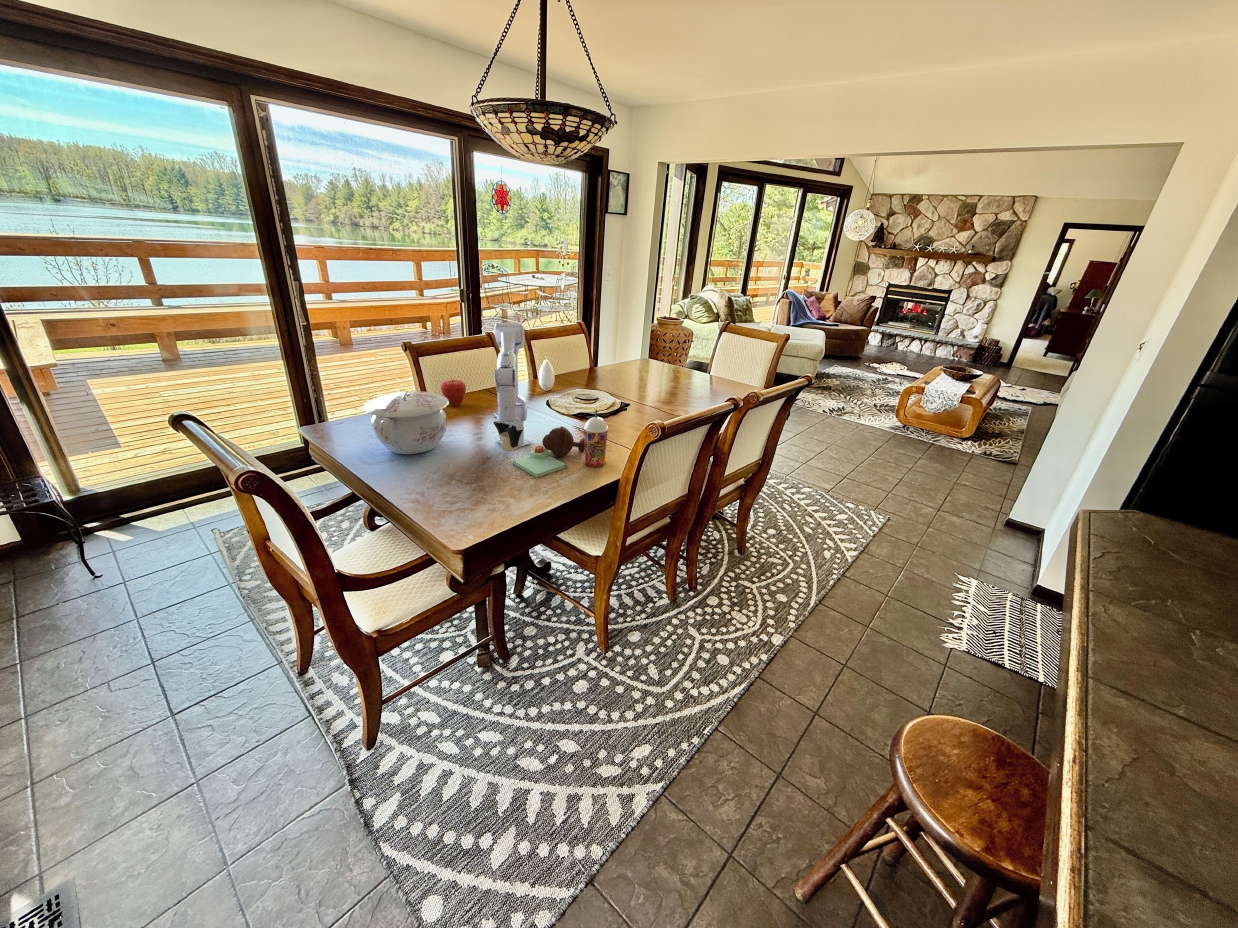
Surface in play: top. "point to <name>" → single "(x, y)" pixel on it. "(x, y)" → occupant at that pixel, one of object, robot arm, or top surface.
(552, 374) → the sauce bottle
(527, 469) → the scale
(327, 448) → the top surface
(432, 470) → the top surface
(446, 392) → the apple
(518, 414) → the robot arm
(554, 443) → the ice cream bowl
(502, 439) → the beige cup
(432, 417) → the chamber pot
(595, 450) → the smoothie
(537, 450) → the tare button
